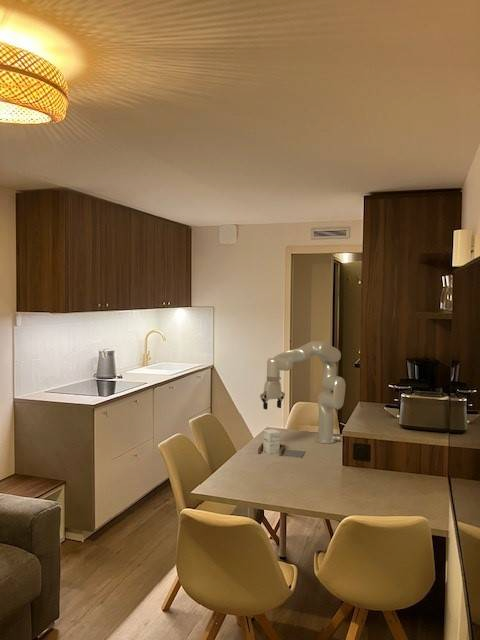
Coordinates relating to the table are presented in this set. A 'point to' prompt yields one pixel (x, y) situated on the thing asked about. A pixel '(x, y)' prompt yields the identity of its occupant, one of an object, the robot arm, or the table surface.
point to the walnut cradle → (282, 448)
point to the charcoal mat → (294, 453)
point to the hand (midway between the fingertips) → (272, 408)
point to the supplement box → (271, 441)
